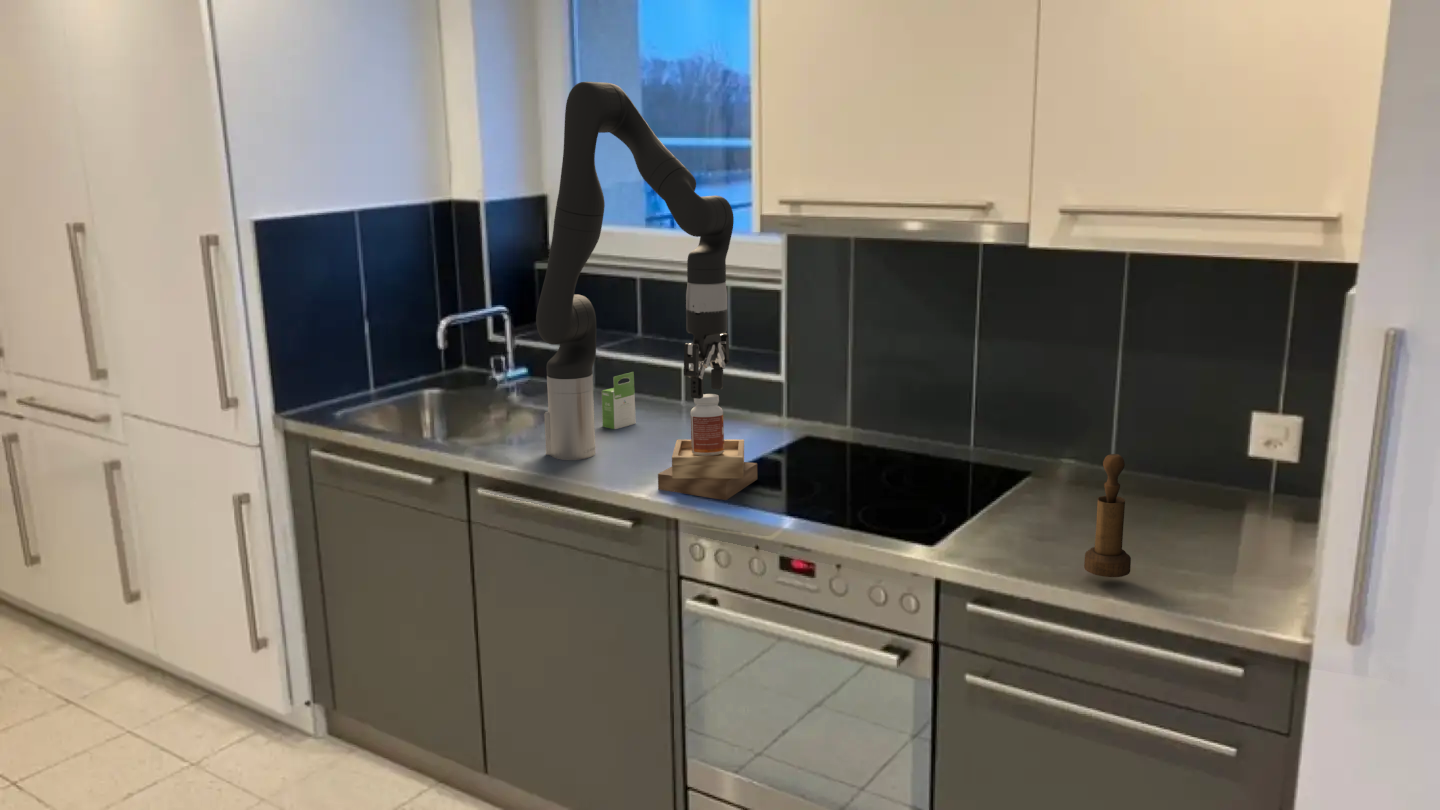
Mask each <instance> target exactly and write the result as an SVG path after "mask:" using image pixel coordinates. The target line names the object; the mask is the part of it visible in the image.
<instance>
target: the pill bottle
mask: <svg viewBox="0 0 1440 810" xmlns="http://www.w3.org/2000/svg"><path fill="white" fill-rule="evenodd" d="M719 396H720V395H718V394H715V393H705V394H704V393H703V397H702V398H701V399H697V398H693V404H694V405H695V406H693V408H691V410H690V440H691V445H692V453H693V454H694V455H698V456H715V455H720V454H722V453H723V452H724V440H725V432H724V426H725V425H724V410H723V408H722V407H720V406H719V403H720V397H719Z"/></svg>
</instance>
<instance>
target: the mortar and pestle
mask: <svg viewBox="0 0 1440 810" xmlns="http://www.w3.org/2000/svg"><path fill="white" fill-rule="evenodd" d="M1102 465H1103V468H1104V471H1105V473H1106V475H1107V480H1106V481H1105V482H1104V483H1103V487H1104V491H1105V492H1104V493H1105V495H1102V496H1099V497H1098V498H1097V507H1096V527H1095V537H1094V538H1095V541H1094V546H1093V547H1091V548H1089V549H1088V550H1087V551H1086V552H1085V553H1084V563H1083V564H1084V565H1083V566H1084V570H1085V571H1086V572H1088V573H1090V574H1093V575H1095V576H1099V577H1106V578H1122V577H1125V576H1127V575H1129V574H1131V567H1132V566H1131V561H1132V558H1131V556H1130V554H1128V553H1127V552H1126V551H1125V550H1124V549H1123V539H1124V521H1125V509H1126V506H1125V505H1126V500H1125V498H1124V497H1121V496H1118V495H1119V492H1120V489H1121V483H1119V482H1118V481H1119V480H1118V478H1119V477H1120V475H1121V473H1122V472H1123V471H1124V468H1125V465H1126V462H1125V459H1124V458H1123V456H1121V455H1120V454H1118V453H1111V454H1108V455H1106V456H1105V457H1104V459H1103V461H1102Z"/></svg>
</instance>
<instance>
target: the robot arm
mask: <svg viewBox="0 0 1440 810" xmlns="http://www.w3.org/2000/svg"><path fill="white" fill-rule="evenodd" d="M564 112H565V113H564V130H563V131H564V132H563V151H562V163H561V169H560V170H561V172H560V173H561V174H560V180H559V181H560V182H559V188H558V189H559V190H558V193H557V199H556V200H557V201H556V206H555V212H554V218H553V229H552V236H551V242H550V243H551V244H550V250H549V256H548V260H547V266H546V272H545V277H544V281H543V283H542V284H543V285H542V288H541V292H540V296H539V301H538V305H537V309H536V317H535V322H536V328H537V329H536V330H537V332H538V334H539V335H538V336H540V338H541V339H542V340H543V341H544V342H545V343H547V344H549V345H559V346H558V349H557V351H556V352H555V354H554V355H553V356H552V357H551V358H550V359H549V360H548V361H547V363H546V385H547V386H546V387H547V407H548V409H547V411H545V412H544V437H545V438H544V439H545V454H546V455H547V456H550V457H552V458H554V459H556V460H563V461H578V460H586V459H589V458H592V457H594V456H595V455H596V436H595V435H596V434H595V432H596V431H595V429H596V428H595V405H594V403H595V402H594V377H593V376H594V374H593V366H594V364H595V361H596V357H597V317H596V311H595V308H594V306H593V304H592V302H591V301H590V299H589V298H587V297H586V296H585V295H581V294H575V290H576V286H577V283H578V279H579V276H580V274H581V272H582V270H583V269H584V267H585V265H586V264H587V262H588V260H589V259H590V257H591V255H592V253H593V252H594V250H595V249H596V246H597V244H598V242H599V239H600V236H601V231H602V229H603V228H602V226H603V220H604V215H605V206H606V205H605V197H604V192H603V189H602V186H601V181H600V179H599V177H598V173H597V169H596V160H595V158H596V157H595V156H596V148H597V147H596V146H597V141H598V137H599V133H600V134H601V133H602V134H603V133H604V134H605V133H610V134H611V135H612V136H615V137H616V139H618V140H619V141H621V142H622V143H623V144H624V145H626V147H627V148H628V150H629V151H630V152H631V153H632V154H631V155H632V156H633V159H634V163H635V165H636V168H637V170H638V172H639V174H640V177H642V179H643V180H644V181H645V183H646V184H647V185H648V186H649V187H650V188H651V189H652V190H653V191H654V192H655V193H656V194H657V195H658V196H659V197H660V198H661V199H662V200H663V201H664V203H665V204H666V207H667V208H668V210H669V212H670V214H671V216H672V218H673V220H674V221H675V222H676V224H677V225H678V227H679V228H680V229H681V230H682V231H684V233H686V234H688V235H690V236H692V237H696V238H699V237H700V238H699V242H698V246H697V247H696V248H695V249H693V250H691V251H690V252H689V253H688V255H687V261H686V263H687V265H686V267H687V268H686V276H687V277H686V278H687V279H686V281H687V286H686V292H685V300H686V301H685V303H686V304H685V308H686V309H685V315H686V317H685V319H686V320H685V321H686V327H685V328H686V329H685V330H686V332H687V333H688V334H690V335H691V334H692V335H693V341H692V342H691V343H690V342H689V343H687V342H686V343H685V344H684V346H683V376H684V377H688V378H690V398H692V399H694V398H697V399H701V398H702V397H703V394H704V378H703V377H704V375H705V370H706V369H708V368H709V366H710V367H711V369H710V374H711V375H710V377H711V378H710V382H711V383H710V385H711V389H713V390H722V389H723V388H724V370H725V369H726V365H729V364H730V337H729V336H730V335H729V333H727V331H728V289H727V283H726V282H727V279H726V278H727V264H726V260H727V255H728V252H729V249H730V244H731V239H732V234H733V231H734V229H733V228H734V222H735V221H734V220H735V219H734V218H735V217H734V212H733V208H732V206H731V204H730V202H729V201H728V200H727V199H726V198H725V197H723V196H720V195H707V196H705V195H704V196H701V195H699V194H698V193H697V192H696V187H697V179H696V178H695V176H694V175H693V174H692V173H691V171H690V170H689V169H688V168H686V166H685V165H684V164H682V162H681V161H680V160H679V159H678V158H677V157H676V156H675V155H674V154H673V153H672V152H671V151H670V150H669V149H668V148H667V147H666V146H665V145H664V143H663V142H662V141H661V140H660V139H659V138H658V136H657V135H656V134H655V132H654V131H653V129H651V127H650V126H649V124H648V123H647V121H646V120H645V119H644V117H643V115H641V113H640V111H639V110H638V109H637V107H636V106H635V105H634V103H633V101H632V100H631V99H630V97H629V96H628V95H627V93H626V92H625V91H624V89H622V88H621V87H620V86H619V85H616V84H614V83H612V82H611V83H610V82H600V81H598V82H597V81H580V82H578V83H576V84H575V85H573V86H572V88H571V89H570V91H569V93H568V96H567V98H566V104H565V110H564Z"/></svg>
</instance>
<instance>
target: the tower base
mask: <svg viewBox="0 0 1440 810" xmlns="http://www.w3.org/2000/svg"><path fill="white" fill-rule="evenodd" d="M757 480H758V463H757V462H747V461H744V472H743V478H672V466H669V468H667V469H664V470H663V471H661V472H659V473H657V488H658V490H659V491H665V492H666V491H667V492H673V493H678V494H685V495H692V496H696V497H697V496H698V497H704V498H710V499H715V500H723V501H728V500H729V499H730V498H732V497H733V496H735V495H736V494H738V493H739V492H741V491H742V490H743V489H745V488H747V487H748V486H749V485H751V484H753V483H754V482H755V481H757Z"/></svg>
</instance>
